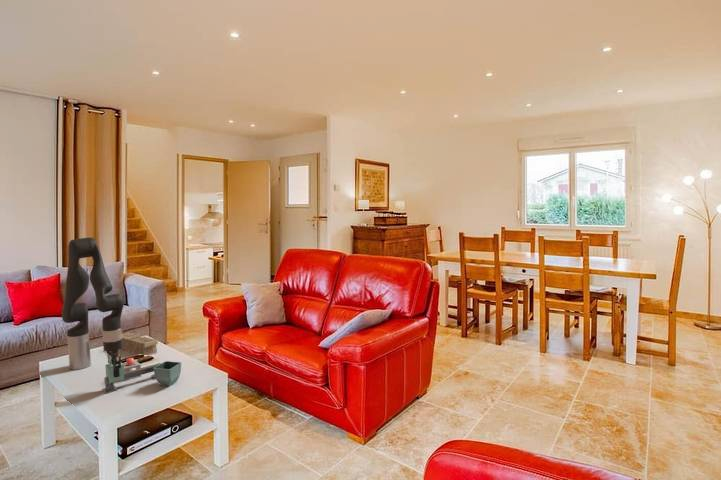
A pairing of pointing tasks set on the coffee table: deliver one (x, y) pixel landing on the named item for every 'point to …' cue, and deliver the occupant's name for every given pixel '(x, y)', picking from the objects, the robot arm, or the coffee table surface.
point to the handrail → (110, 386)
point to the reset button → (130, 361)
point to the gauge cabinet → (131, 368)
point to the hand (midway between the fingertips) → (115, 374)
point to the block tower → (138, 344)
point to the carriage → (111, 375)
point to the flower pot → (167, 372)
